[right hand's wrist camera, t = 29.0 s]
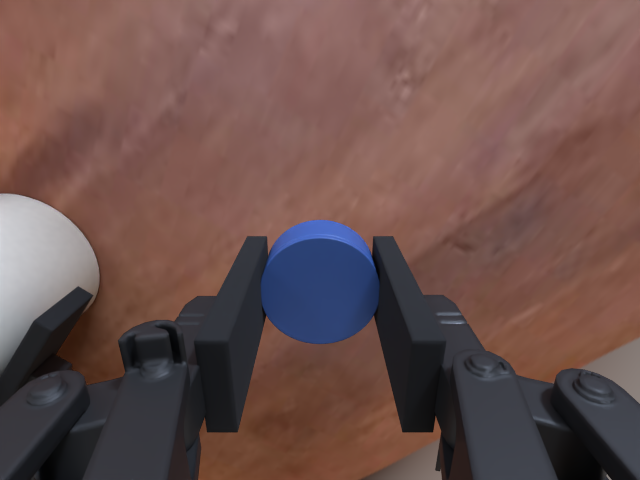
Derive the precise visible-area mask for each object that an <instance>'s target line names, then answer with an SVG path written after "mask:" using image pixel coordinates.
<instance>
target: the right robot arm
mask: <svg viewBox="0 0 640 480" xmlns="http://www.w3.org/2000/svg"><path fill="white" fill-rule="evenodd" d="M372 258H373V261H374V264H375V267H376V270H377V274H378V277H379V280H380V287H379V302H378V307H377V310H376V312H375V314H374V317H375V321H376V325H377V329H378V334H379V338H380V342H381V346H382V350H383V354H384V358H385V362H386V366H387V370H388V375H389V379H390V383H391V387H392V391H393V395H394V399H395V403H396V407H397V411H398V416H399V420H400V424H401V428H402V432H433V429H434V422H435V416H436V418H437V420H438V423H439V426H440V429H441V437H440V443H439V450H438V456H437V462H436V469H435V470H436V471H440V469H441V473H442V480H609V479H608V478H607V477H606V475H607V474H608V476H609V477H610V478H611V479H612V480H640V404H639V403H638V402H637V401H636V400H635V399H634V398H633V397H632V396H630V395H629V394H628V393H627V392H626V391H625V390H624V389H623V388H621V387H620V386H619V385H617V384H616V383H615V382H613V381H612V380H610V379H608V378H606V377H604V376H602V375H600V374H597V373H594V372H591V371H587V370H583V369H573V368H571V369H566V370H562V371H561V372H559V373H558V374H557V375H556V379H555V382H554V384H552V383H548V382H543V381H538V380H534V379H529V378H525V377H522V376H518V375H516V373H515V371H514V370H513V368H512V367H511V365H510V364H509V363H508V362H507V361H505V360H504V359H503V358H501V357H500V356H498V355H496V354H493V353H491V352H489V351H485V349H484V347H483V346H482V344H481V343H480V341H479V340H478V338H477V337H476V335H475V334H474V332H473V330H472V329H471V327H470V326H469V324H467V321H466V320H465V318H464V317H463V316H462V313H461V312H460V310H459V309H458V307H457V306H456V304H455V303H454V302H452V301H451V300H449V299H448V298H447V297H445V296H444V295H423V294H422V292H421V290H420V288H419V286H418V284H417V282H416V280H415V279H414V277H413V275H412V273H411V271H410V269H409V267H408V265H407V263H406V261H405V259H404V257H403V255H402V253H401V251H400V249H399V247H398V245H397V243H396V242H395V240H394V238H393V236H373V251H372ZM267 259H268V246H267V236H247V238H246V240H245V242H244V244H243V246H242V248H241V250H240V252H239V254H238V256H237V258H236V260H235V261H234V263H233V265H232V267H231V269H230V271H229V273H228V275H227V277H226V279H225V281H224V283H223V285H222V287H221V289H220V291H219V293H218V295H217V296H197V297H196V298H194V299H193V300H191V301H190V302H189V303H187V304H186V305H185V306H184V308H183V309H182V311H181V312H180V314H179V317H177V319H176V320H175V322H173V321H170V320H155V321H150V322H145V323H143V324H140V325H138V326H135V327H133V328H131V329H130V330H128V331H127V332H125V333H124V334H123V335H122V336H121V338H120V339H119V340H118V343H119V347H120V351H121V355H122V360H123V364H124V368H125V374H124V376H123V377H120V378H117V379H113V380H109V381H104V382H100V383H95V384H91V385H86V381H85V378H84V376H83V375H82V374H81V373H80V372H77V371H72V370H63V371H56V372H52V373H49V374H45V375H42V376H40V377H38V378H36V379H34V380H32V381H30V382H28V383H27V384H26V385H24V386H23V387H22V388H20V389H19V390H18V391H17V392H15V393H14V394H13V395H12V396H11V397H10V398H9V399H8V400H7V401H6V402H5V403H4V404H3V405H2V406H0V480H31V479H32V477H33V476H35V478H34V479H33V480H198V474H199V464H200V454H201V444H200V437H199V431H200V428H201V426H202V423H203V420H204V417H205V421H206V428H207V432H238V429H239V425H240V421H241V416H242V412H243V408H244V404H245V400H246V396H247V392H248V388H249V384H250V380H251V375H252V371H253V367H254V363H255V359H256V355H257V351H258V347H259V343H260V339H261V334H262V330H263V326H264V322H265V318H266V313H265V311H264V309H263V307H262V299H261V278H262V275H263V271H264V268H265V265H266V262H267Z"/></svg>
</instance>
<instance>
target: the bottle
mask: <svg viewBox="0 0 640 480" xmlns="http://www.w3.org/2000/svg"><path fill="white" fill-rule="evenodd" d="M99 281H100V274H99V266H98V262H97V259H96V256H95V254H94V251H93V249H92V247H91V245H90V243H89V242H88V240H87V239H86V237H85V236H84V235H83V233H82V232H81V231H80V230H79V229H78V227H77V226H76V225H75V224H74V223H72V222H71V221H70V220H69V219H68V218H67V217H66V216H64V215H63V214H62V213H60V212H59V211H57V210H56V209H54V208H52V207H51V206H49V205H47V204H45V203H43V202H40V201H38V200H35V199H32V198H29V197H25V196H21V195H15V194H0V377H1V375H2V373H3V372H4V370H5V368H6V367H7V365H8V363H9V362H10V360H11V358H12V356H13V355H14V353H15V351H16V350H17V348H18V346H19V345H20V343H21V341H22V340H23V338H24V336H25V335H26V333H27V331H28V329H29V328H30V326H31V324H32V323H33V321H34V320H35V319H36V318H38V317H39V316H40V315H42V314H43V313H44V312H45V311H47V310H48V309H49V308H51V307H52V306H53V305H54V304H56V303H57V302H58V301H60V300H61V299H62V298H63V297H65V296H66V295H67V294H69V293H70V292H71V291H72V290H74V289H75V288H76V287H78V286H79V287H81V288H82V289H84V290H86V291H87V292H89V293H91V294H92V295H94V296H93V297H92V299H91V300H90V302H89V303H88V305H87V307H86V308H85V310H84V311H83V313H84V312H86V311H87V309H88V308H89V307H90V306H91V305H92V303H93V301H94V300H95V298H96V295H97V292H98V288H99ZM83 313H82V314H83ZM82 314H81V315H82Z"/></svg>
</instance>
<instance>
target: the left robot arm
mask: <svg viewBox="0 0 640 480" xmlns="http://www.w3.org/2000/svg"><path fill="white" fill-rule="evenodd" d="M93 296H94V295H92V294H91V293H89V292H87V291H86V290H84V289H82V288H81V287H79V286H78V287H76V288H75V289H74V290H72V291H71V292H70V293H69V294H67V295H66V296H65V297H63V298H62V299H61V300H60V301H58V302H57V303H56V304H54V305H53V306H52V307H51V308H49V309H48V310H47V311H45V312H44V313H43V314H42V315H40V316H39V317H38V318H36V319H35V320H34V321H33V323H32V324H31V326H30V328H29V329H28V331H27V333H26V335H25V336H24V338H23V340H22V341H21V343H20V345H19V346H18V348H17V350H16V351H15V353H14V355H13V356H12V358H11V360H10V362H9V363H8V365H7V367H6V368H5V370H4V372H3V373H2V375H1V377H0V406H2V405H3V404H4V403H5V402H6V401H7V400H8V399H9V398H10V397H11V396H12V395H13V394H14V393H15V392H17V391H18V390H19V389H20V388H22V387H23V386H24V385H26V384H27V383H28V382H30V381H32V380H34V379H36V378H38V377H40V376H42V375H45V374H49V373H52V372H56V371H63V370H72V364H71V363H69V362H68V361H66V360H64V359H62V358H60V357H58V356H57V355H56V353H57V352H58V350H59V348H60V347H61V345H62V344H63V342H64V341H65V339H66V338H67V336H68V334H69V333H70V331H71V330H72V328H73V327H74V325H75V324H76V322H77V321H78V319H79V317H80V316H81V314H82V313H83V311H84V310H85V308H86V307H87V305H88V303H89V302H90V300H91V299H92V297H93ZM34 478H35V476H33V477H32V479H31V480H33V479H34Z"/></svg>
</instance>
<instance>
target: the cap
mask: <svg viewBox="0 0 640 480" xmlns="http://www.w3.org/2000/svg"><path fill="white" fill-rule="evenodd" d="M379 287H380V280H379V277H378V274H377V270H376V267H375V264H374V261H373V258H372V255H371V252H370V250H369V248H368V246H367V244H366V243H365V241H364V240H363V239H362V238H361V237H360V236H359V235H358V234H357V233H356V232H355V231H353V230H352V229H350V228H349V227H347V226H345V225H343V224H340V223H337V222H333V221H328V220H313V221H307V222H304V223H300V224H298V225H296V226H294V227H292V228H290V229H288V230H287V231H286V232H284V233H283V234H282V235H281V236H280V237H279V238H278V239H277V240H276V242H275V243H274V245H273V246H272V248H271V250H270V253H269V256H268V259H267V262H266V265H265V268H264V271H263V275H262V278H261V299H262V307H263V309H264V311H265V313H266V315H267V317H268V318H269V320H270V321H271V322H272V323H273V324H274V326H276V327H277V328H278V329H279V330H280V331H281V332H283V333H284V334H286V335H288V336H289V337H291V338H294V339H296V340H299V341H302V342H306V343H312V344H328V343H334V342H338V341H342V340H344V339H347V338H349V337H351V336H353V335H354V334H356V333H357V332H359V331H360V330H361V329H363V328H364V327H365V326H366V325H367V324H368V322H369V321H370V320H371V319H372V317H373V315H374V314H375V312H376V310H377V307H378V302H379Z"/></svg>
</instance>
